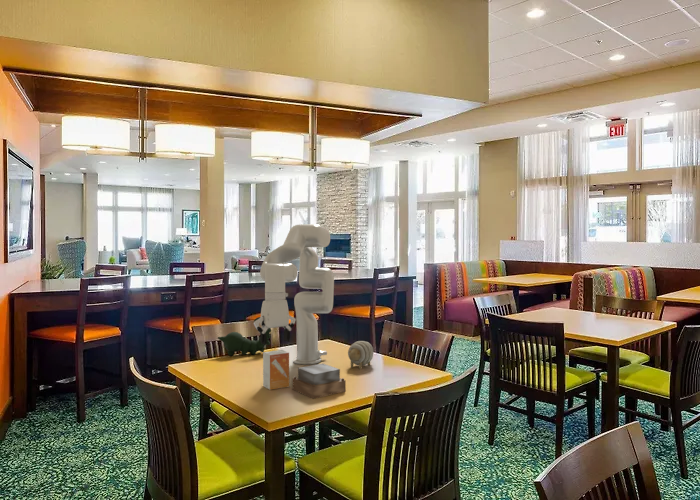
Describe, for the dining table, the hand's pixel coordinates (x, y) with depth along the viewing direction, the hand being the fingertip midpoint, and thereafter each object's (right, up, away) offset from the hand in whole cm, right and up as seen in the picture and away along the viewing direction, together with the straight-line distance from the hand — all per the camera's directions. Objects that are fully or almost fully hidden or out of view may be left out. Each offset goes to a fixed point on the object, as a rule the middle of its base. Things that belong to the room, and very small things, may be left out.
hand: (275, 342), depth 192 cm
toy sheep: (+33, -16, +30) cm, 48 cm away
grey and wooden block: (+17, -17, -4) cm, 24 cm away
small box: (0, -17, +1) cm, 17 cm away
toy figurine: (-23, -16, +55) cm, 62 cm away
